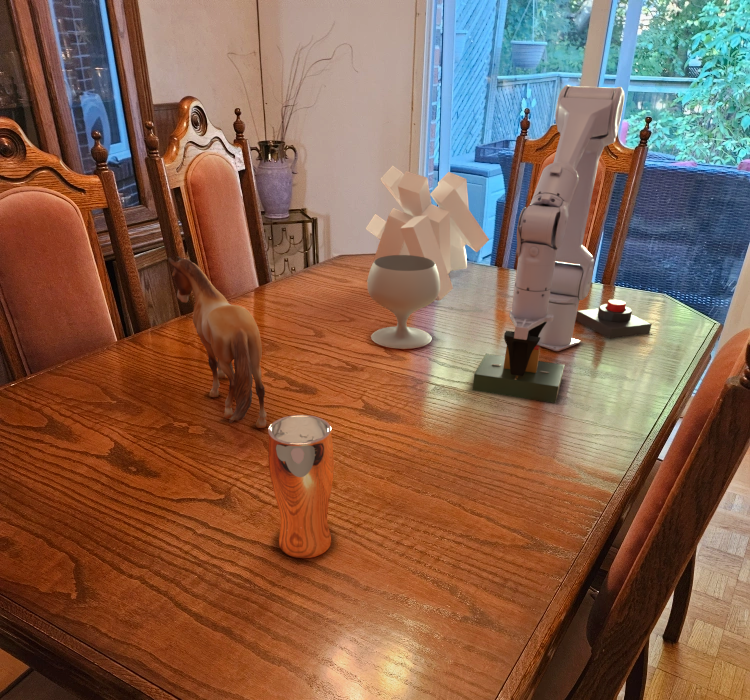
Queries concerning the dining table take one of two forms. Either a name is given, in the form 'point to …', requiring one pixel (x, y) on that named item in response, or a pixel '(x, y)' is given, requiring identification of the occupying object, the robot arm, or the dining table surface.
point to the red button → (616, 305)
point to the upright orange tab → (531, 364)
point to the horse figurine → (224, 339)
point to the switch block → (613, 322)
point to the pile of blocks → (428, 223)
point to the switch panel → (518, 380)
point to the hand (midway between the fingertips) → (520, 366)
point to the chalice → (403, 296)
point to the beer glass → (302, 482)
